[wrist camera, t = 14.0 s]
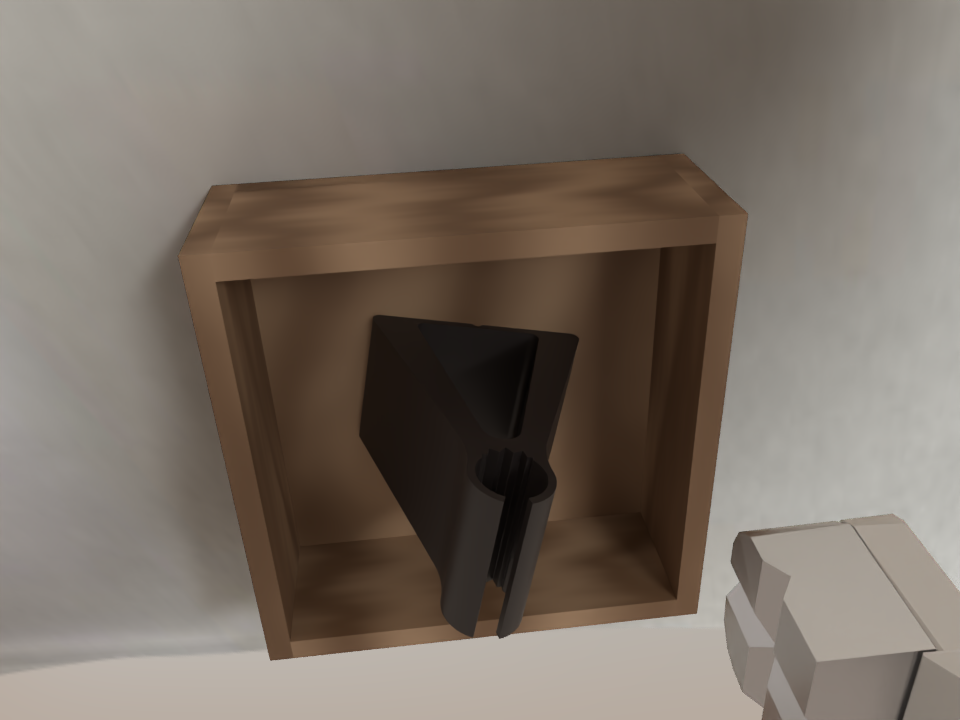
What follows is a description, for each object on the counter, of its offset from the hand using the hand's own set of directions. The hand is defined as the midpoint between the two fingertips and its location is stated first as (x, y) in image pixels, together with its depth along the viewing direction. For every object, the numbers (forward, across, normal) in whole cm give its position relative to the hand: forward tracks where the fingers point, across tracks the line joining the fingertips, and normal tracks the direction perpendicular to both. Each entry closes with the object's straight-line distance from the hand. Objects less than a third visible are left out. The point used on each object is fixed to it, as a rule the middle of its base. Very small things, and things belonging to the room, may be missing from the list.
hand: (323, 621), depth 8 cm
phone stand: (+27, -3, +14) cm, 30 cm away
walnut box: (+28, -2, +14) cm, 31 cm away
